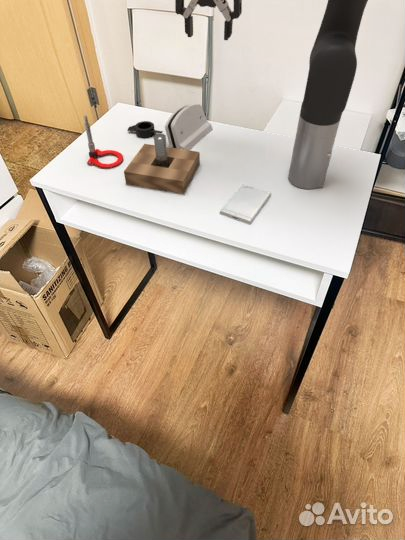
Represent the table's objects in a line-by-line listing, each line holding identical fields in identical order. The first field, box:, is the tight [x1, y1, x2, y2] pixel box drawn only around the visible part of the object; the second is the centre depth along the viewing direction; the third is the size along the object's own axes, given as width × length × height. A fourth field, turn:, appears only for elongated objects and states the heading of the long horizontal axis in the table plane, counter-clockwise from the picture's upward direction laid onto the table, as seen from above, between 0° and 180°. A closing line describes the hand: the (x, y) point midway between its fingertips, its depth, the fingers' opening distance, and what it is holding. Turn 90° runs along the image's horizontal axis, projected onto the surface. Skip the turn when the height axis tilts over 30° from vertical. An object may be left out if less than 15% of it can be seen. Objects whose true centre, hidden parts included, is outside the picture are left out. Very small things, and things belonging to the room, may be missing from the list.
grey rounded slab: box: [164, 103, 213, 151], centre depth 112 cm, size 17×5×10 cm, turn 149°
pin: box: [153, 133, 169, 168], centre depth 98 cm, size 3×3×11 cm
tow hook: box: [83, 115, 124, 170], centre depth 102 cm, size 8×13×9 cm
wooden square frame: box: [123, 143, 201, 195], centre depth 101 cm, size 16×14×4 cm
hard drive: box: [219, 183, 272, 225], centre depth 93 cm, size 2×8×12 cm
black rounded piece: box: [127, 120, 164, 140], centre depth 116 cm, size 8×10×3 cm
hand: (208, 37), depth 86 cm, fingers open, 8 cm apart
